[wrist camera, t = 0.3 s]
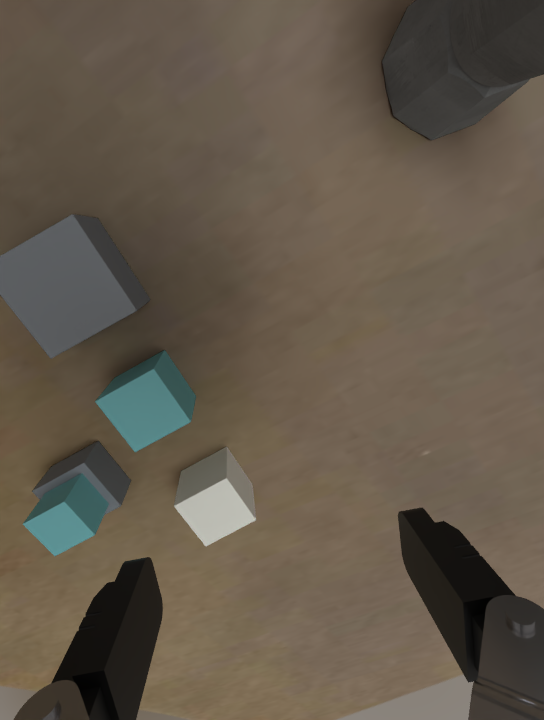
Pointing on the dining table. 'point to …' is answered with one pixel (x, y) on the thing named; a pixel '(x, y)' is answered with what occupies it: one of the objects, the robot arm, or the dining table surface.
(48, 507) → the stack
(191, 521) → the cream block
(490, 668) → the robot arm
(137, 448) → the teal block
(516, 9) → the coffeepot
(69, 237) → the charcoal block
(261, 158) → the dining table surface
